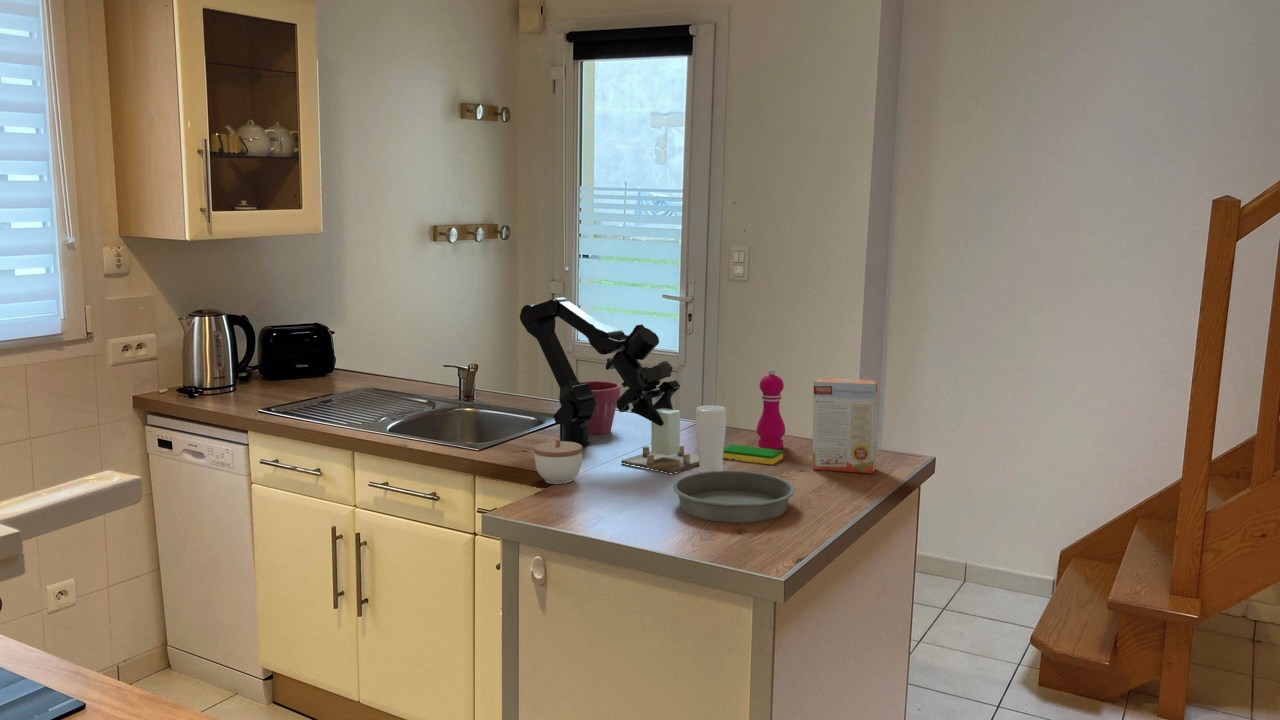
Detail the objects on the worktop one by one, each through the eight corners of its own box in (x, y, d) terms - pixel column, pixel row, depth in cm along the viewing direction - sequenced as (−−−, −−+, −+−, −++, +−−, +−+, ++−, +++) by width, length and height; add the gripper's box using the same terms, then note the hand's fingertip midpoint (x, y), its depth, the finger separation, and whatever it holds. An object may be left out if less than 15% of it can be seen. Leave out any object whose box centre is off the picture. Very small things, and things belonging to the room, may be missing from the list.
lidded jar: (580, 473, 228) (579, 433, 227) (585, 485, 218) (585, 443, 216) (532, 475, 226) (532, 435, 225) (536, 488, 216) (535, 445, 214)
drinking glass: (705, 477, 224) (706, 412, 222) (690, 470, 230) (690, 406, 228) (731, 474, 227) (731, 409, 225) (715, 467, 233) (716, 404, 231)
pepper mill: (784, 450, 249) (785, 371, 246) (755, 449, 250) (756, 370, 247) (785, 444, 256) (787, 367, 253) (757, 443, 257) (758, 366, 254)
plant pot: (608, 438, 263) (608, 390, 261) (559, 435, 267) (559, 388, 266) (627, 427, 276) (627, 382, 274) (581, 424, 281) (580, 379, 279)
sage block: (651, 452, 237) (651, 410, 235) (662, 448, 240) (663, 407, 239) (668, 455, 234) (668, 413, 232) (679, 452, 237) (679, 410, 235)
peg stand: (621, 464, 236) (621, 452, 235) (659, 452, 247) (659, 440, 247) (672, 474, 227) (672, 461, 226) (710, 461, 238) (710, 449, 238)
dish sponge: (730, 453, 248) (731, 443, 248) (783, 460, 242) (783, 450, 241) (718, 459, 242) (719, 449, 242) (772, 466, 235) (772, 456, 235)
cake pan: (707, 532, 186) (707, 509, 185) (653, 498, 208) (652, 477, 208) (818, 516, 196) (819, 494, 195) (755, 485, 218) (755, 465, 217)
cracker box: (876, 468, 231) (879, 379, 228) (873, 474, 226) (876, 383, 223) (815, 463, 236) (817, 376, 233) (811, 469, 230) (813, 380, 227)
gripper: (626, 355, 229) (664, 408, 224) (674, 346, 243) (711, 396, 238) (599, 385, 235) (636, 438, 230) (648, 375, 249) (684, 424, 244)
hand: (668, 423), depth 235 cm, fingers closed on sage block, 4 cm apart
